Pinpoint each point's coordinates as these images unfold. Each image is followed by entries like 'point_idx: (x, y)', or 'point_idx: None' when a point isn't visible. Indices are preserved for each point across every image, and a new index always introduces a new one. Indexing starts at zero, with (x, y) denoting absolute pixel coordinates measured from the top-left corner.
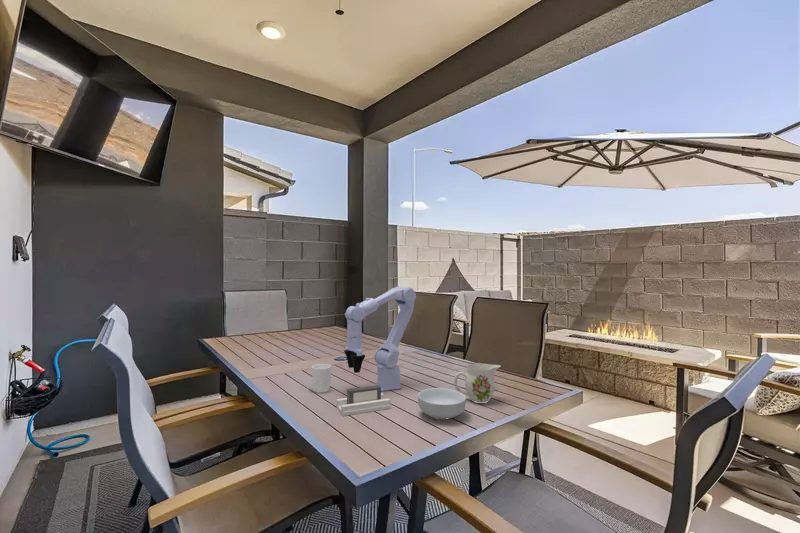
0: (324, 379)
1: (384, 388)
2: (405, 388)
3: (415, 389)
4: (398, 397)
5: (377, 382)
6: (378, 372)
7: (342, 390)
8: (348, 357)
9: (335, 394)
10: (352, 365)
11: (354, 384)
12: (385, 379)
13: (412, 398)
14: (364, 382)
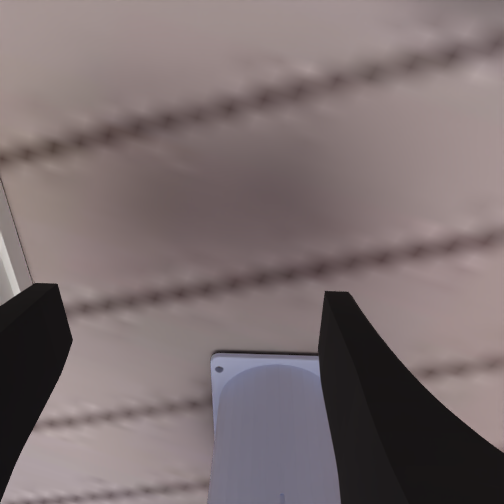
0: None
1: (226, 386)
2: None
3: (180, 488)
4: (74, 392)
5: (290, 390)
6: (270, 467)
7: (376, 112)
8: (361, 424)
9: (295, 6)
10: (324, 353)
11: (468, 254)
12: (216, 445)
13: (43, 436)
14: (463, 329)
